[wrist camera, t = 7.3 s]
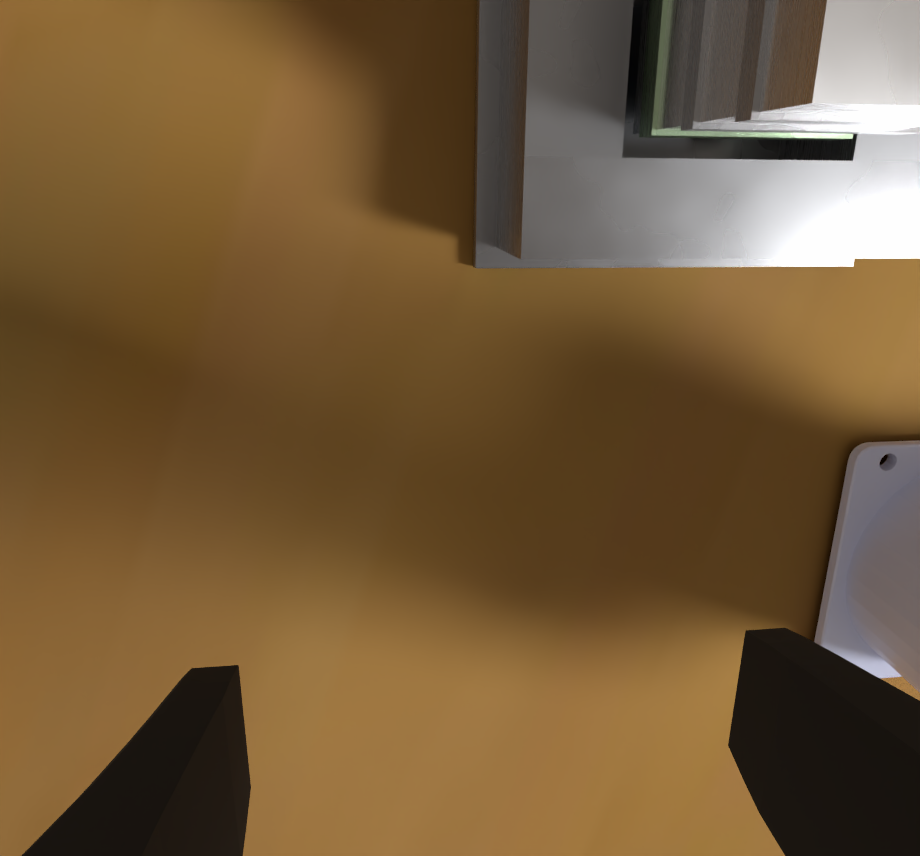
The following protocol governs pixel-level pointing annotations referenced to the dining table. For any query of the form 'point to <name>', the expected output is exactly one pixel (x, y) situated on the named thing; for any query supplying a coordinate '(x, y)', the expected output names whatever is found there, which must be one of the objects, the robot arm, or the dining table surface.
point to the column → (778, 69)
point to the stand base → (656, 164)
